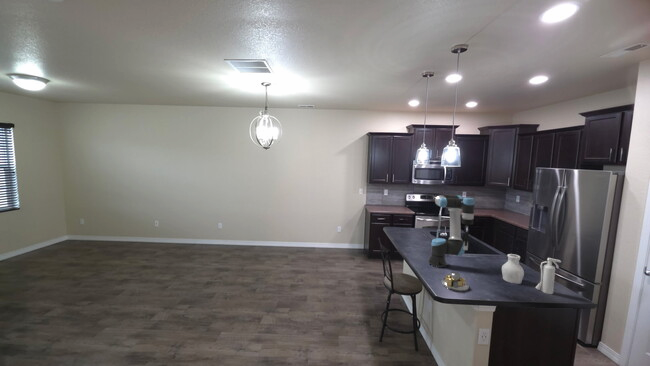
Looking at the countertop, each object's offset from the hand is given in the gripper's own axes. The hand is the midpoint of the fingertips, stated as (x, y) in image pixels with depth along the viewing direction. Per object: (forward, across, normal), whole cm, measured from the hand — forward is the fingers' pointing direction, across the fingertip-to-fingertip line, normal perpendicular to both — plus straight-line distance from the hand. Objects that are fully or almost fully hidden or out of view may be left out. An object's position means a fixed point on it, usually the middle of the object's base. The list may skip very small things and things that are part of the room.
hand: (465, 249), depth 191 cm
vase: (+27, -28, +34) cm, 51 cm away
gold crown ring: (+24, +8, -6) cm, 26 cm away
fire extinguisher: (+27, -18, +52) cm, 62 cm away
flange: (+26, +6, -5) cm, 28 cm away
